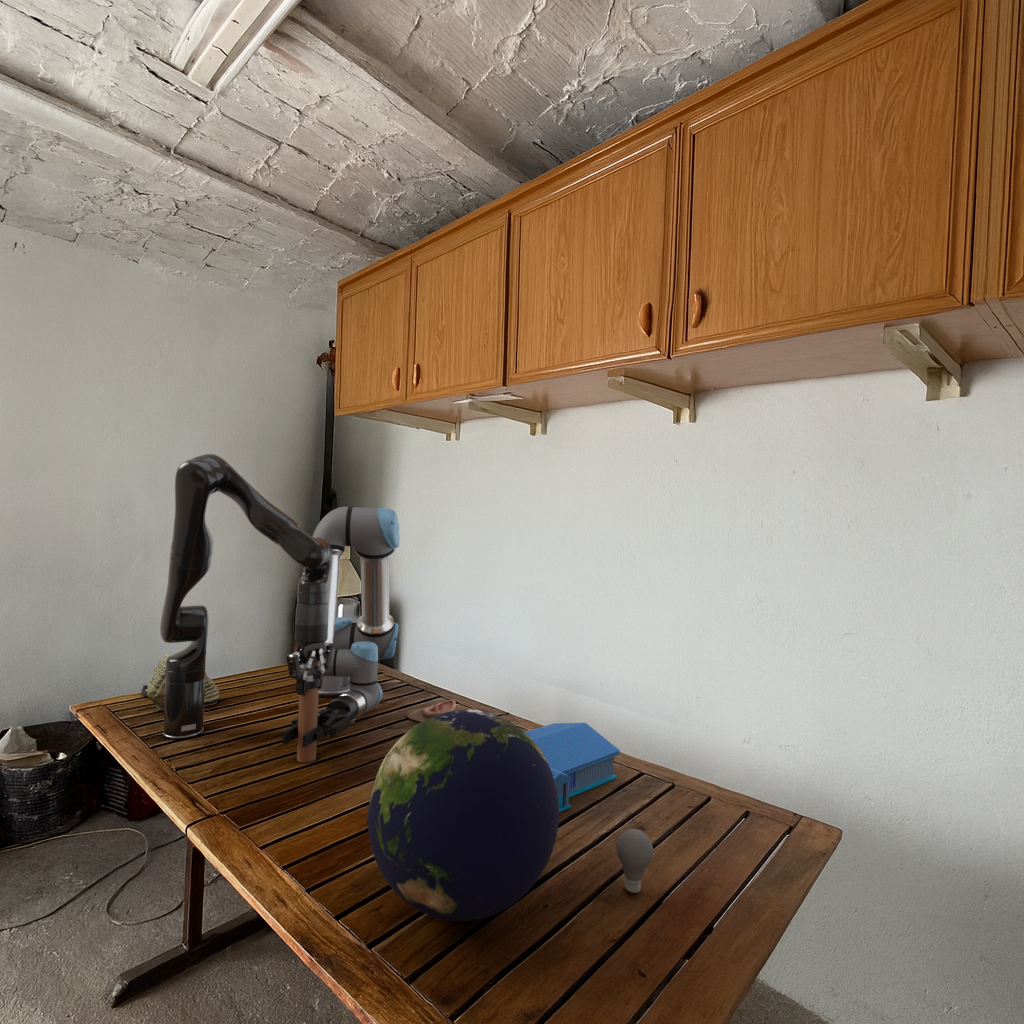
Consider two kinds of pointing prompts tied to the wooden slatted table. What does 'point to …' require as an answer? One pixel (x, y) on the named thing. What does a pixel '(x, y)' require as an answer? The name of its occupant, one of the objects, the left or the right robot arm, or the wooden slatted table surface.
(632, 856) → the light bulb
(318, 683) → the lid
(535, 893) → the wooden slatted table surface
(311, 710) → the brown rounded cylinder
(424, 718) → the anatomical model
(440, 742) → the globe
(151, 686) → the fossil
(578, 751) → the model building
